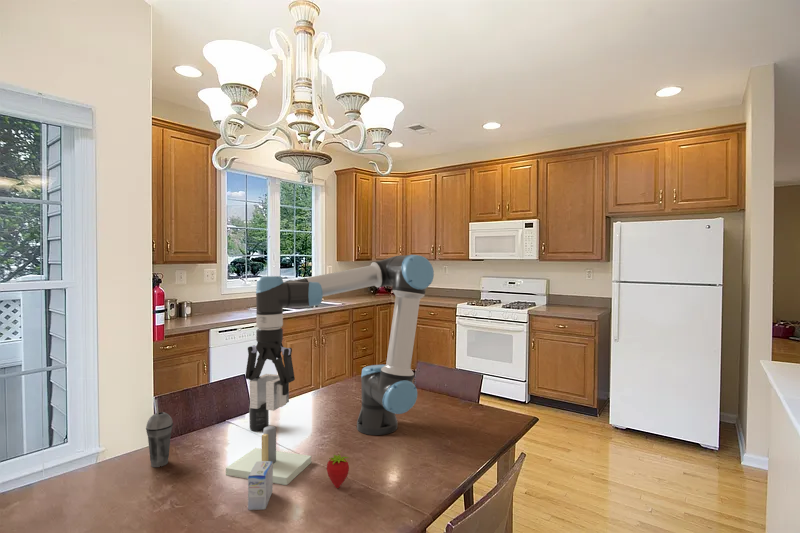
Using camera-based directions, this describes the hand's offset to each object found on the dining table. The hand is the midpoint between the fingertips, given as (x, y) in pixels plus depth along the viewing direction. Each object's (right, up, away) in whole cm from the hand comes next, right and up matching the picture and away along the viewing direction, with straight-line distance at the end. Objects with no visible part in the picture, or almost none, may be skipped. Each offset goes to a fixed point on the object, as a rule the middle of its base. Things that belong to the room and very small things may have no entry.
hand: (269, 404), depth 126 cm
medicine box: (+3, -20, -17) cm, 26 cm away
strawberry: (+22, -19, -11) cm, 31 cm away
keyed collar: (0, 0, 0) cm, 0 cm away
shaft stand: (0, -19, 0) cm, 19 cm away
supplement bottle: (-14, -19, +31) cm, 39 cm away
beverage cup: (-35, -19, +3) cm, 40 cm away
